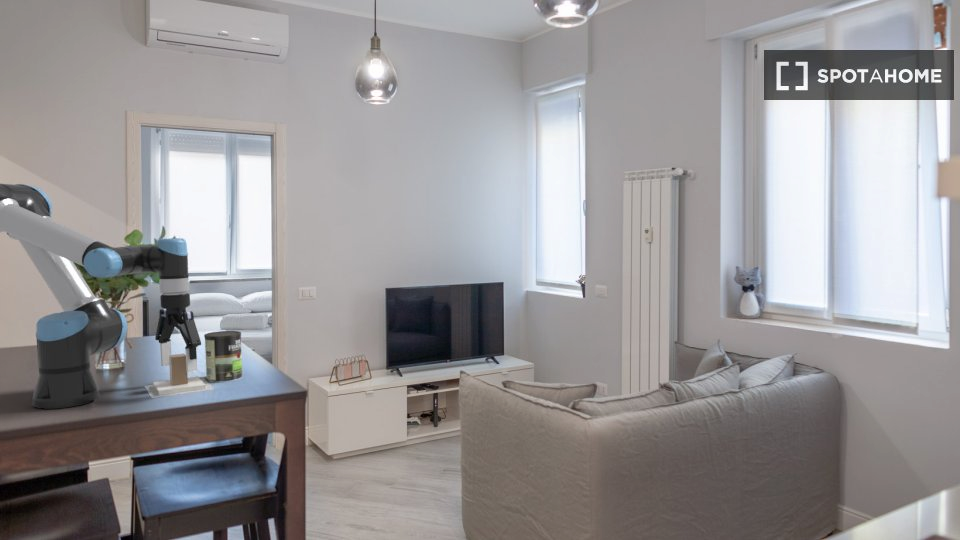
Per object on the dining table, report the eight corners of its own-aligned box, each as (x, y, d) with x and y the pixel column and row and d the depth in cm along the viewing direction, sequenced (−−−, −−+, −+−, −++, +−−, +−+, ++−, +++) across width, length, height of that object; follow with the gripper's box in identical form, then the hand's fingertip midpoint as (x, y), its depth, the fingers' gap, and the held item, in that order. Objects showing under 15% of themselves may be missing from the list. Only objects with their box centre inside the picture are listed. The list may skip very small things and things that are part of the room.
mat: (151, 400, 177) (151, 398, 177) (144, 388, 190) (144, 385, 190) (215, 391, 185) (214, 389, 185) (203, 380, 199) (203, 378, 199)
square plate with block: (158, 395, 180) (157, 361, 179) (153, 386, 190) (151, 354, 189) (205, 388, 186) (204, 356, 185) (197, 380, 196) (196, 349, 195)
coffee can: (249, 376, 203) (247, 330, 202) (230, 384, 193) (228, 336, 192) (219, 375, 205) (217, 330, 204) (198, 383, 195) (196, 336, 194)
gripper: (212, 294, 181) (215, 370, 183) (165, 290, 196) (169, 360, 198) (185, 297, 175) (190, 376, 177) (139, 292, 190) (144, 365, 192)
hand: (179, 368), depth 187 cm, fingers open, 13 cm apart
